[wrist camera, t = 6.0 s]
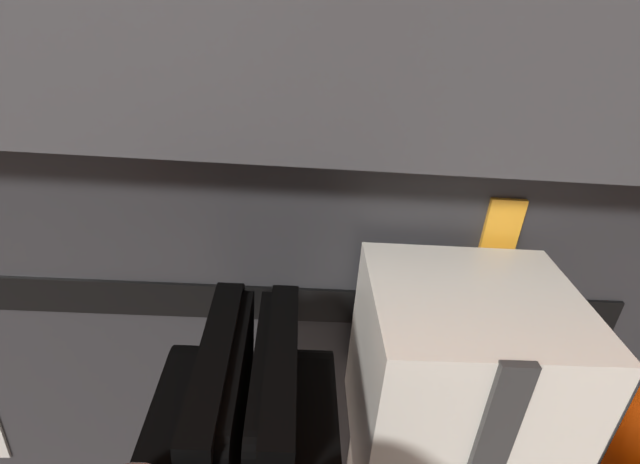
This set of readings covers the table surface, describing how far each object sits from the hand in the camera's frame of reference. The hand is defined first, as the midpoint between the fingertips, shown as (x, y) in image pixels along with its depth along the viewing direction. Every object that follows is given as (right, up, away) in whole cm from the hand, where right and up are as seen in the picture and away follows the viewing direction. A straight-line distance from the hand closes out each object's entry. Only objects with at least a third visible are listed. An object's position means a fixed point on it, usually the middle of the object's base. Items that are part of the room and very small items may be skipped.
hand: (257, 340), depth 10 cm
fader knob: (+4, 0, +1) cm, 4 cm away
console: (0, +2, +4) cm, 4 cm away
